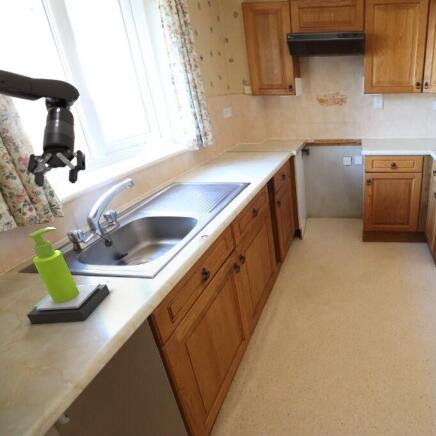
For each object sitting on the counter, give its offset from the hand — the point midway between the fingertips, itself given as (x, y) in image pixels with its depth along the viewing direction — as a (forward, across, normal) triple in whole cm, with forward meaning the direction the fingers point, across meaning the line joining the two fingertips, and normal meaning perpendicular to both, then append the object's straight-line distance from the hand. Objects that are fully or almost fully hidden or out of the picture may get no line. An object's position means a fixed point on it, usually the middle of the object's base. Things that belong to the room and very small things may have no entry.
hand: (56, 183), depth 96 cm
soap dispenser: (+33, +3, +4) cm, 34 cm away
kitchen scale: (+36, +2, +7) cm, 37 cm away
